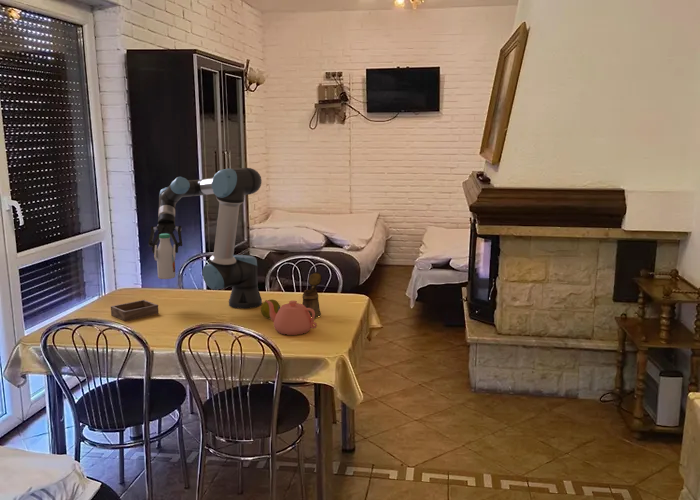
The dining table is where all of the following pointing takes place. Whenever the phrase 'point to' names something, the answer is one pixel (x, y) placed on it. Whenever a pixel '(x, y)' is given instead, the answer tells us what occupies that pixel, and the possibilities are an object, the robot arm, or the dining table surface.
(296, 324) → the teapot
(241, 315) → the dining table surface
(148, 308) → the tray
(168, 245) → the milk bottle
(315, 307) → the dark brown tall piece
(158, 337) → the dining table surface
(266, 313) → the lemon
